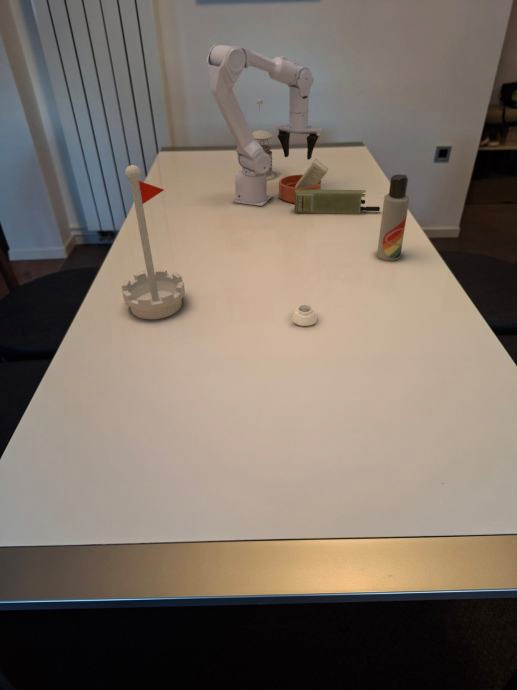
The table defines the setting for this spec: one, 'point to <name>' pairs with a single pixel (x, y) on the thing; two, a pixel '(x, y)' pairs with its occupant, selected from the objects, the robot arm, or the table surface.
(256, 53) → the robot arm
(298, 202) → the handheld radio
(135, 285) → the flag stand
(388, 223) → the lotion bottle
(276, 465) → the table surface
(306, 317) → the white jar
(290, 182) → the bowl
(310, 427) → the table surface
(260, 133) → the weather station
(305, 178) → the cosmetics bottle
